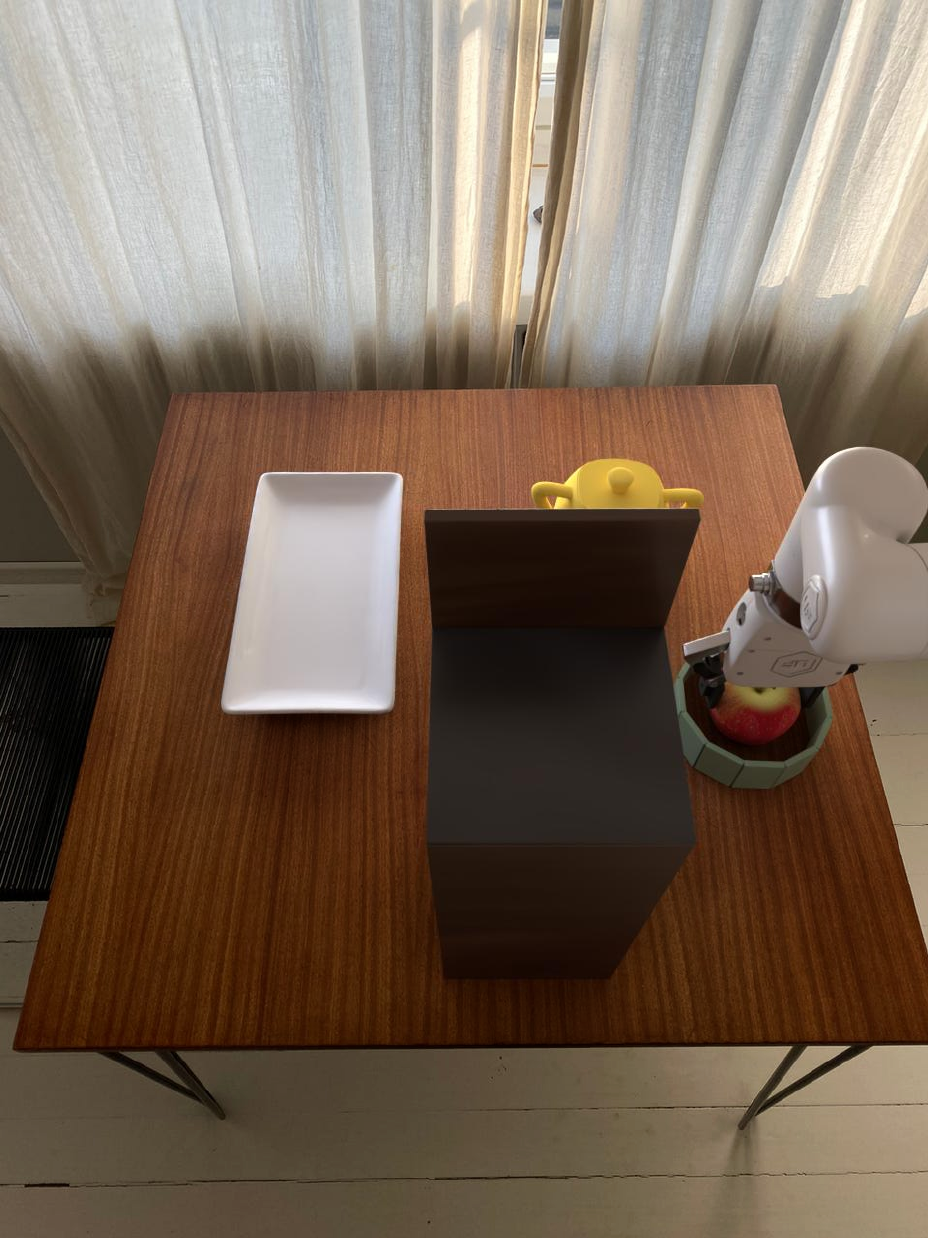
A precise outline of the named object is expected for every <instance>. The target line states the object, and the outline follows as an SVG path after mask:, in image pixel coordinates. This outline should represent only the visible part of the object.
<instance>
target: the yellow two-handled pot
mask: <svg viewBox="0 0 928 1238" xmlns="http://www.w3.org/2000/svg"><path fill="white" fill-rule="evenodd" d="M530 491H531V492H530V493H531V499H532V501H533V503H534V505H535V506H536V509H625V508H670V503H684V504H683V505H682V506H681V507H680V508H699V510H700V509H701V508H702V506H703V505H704V502H705V497H704V496H705V495H704V493H702V492H701V491H700V490H698V489H694V488H666V489H665V487H664V484H663V482H662V480H661V477H660V476H659V475H658V473H657V471H656V470H655V469H654V468H653V467H652V466H650V465H648V464H646V463H643V462H641V461H637V460H633V459H627V458H626V459H625V458H602V459H596V460H591V461H588V462H587V463H584V464H583V465H581V467H579V468H577V469H576V470H575V472H573V473H572V475H570V476H569V477H568V478H567V480H566V481H565V482H564V483H560V482H559V483H558V482H551V481H539V482H536V483H534V484H533V486H532V487H531V490H530ZM548 497H556V499H555V504H554V507H553V506H552V505H551V503H550V501H549V498H548Z"/></svg>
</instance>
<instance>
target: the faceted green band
mask: <svg viewBox="0 0 928 1238" xmlns="http://www.w3.org/2000/svg"><path fill="white" fill-rule="evenodd" d="M720 663H721V665H723V664H724V660H723V661H721V662H720ZM694 675H697V674H696V673H695V672H694V670H693V667H692V666H690V665H689V664H688V663H687V662H686V661H685V662H684V664H683V665H682V667H681V669H680V671H679V672H678V674H677V675H676V678H675V681H674V682H673V686H674V692H675V699H676V706H677V712H678V719H679V726H680V732H681V739H682V746H683V752H684V758H685V759H686V760H687V761H688V763H689V764H690V765H691V767H693V768H694V769H695V770H697V771H698V772H701V773H702V774H703V775H706V776H708V777H710V778H711V779H713V780H715V781H717V782H719V783H720V784H722V785H724V786H726V787H730V788H732V789H733V788H734V789H736V788H737V789H755V790H757V789H759V790H770V789H774V788H775V787H777V786H779V785H781V784H783V783H785V782H787V781H789V780H791V779H792V778H794V777H796V776H798V775H800V774H802V772H803V771H804V770H805V769H806V768H807V767H808V765H809V764H810V762H811V761H812V760H813V758H814V757H815V756H816V755H817V753H818V752H819V751H820V749H821V748H822V745H823V743H824V741H825V739H826V737H827V736H828V735H827V734H828V732H829V730H830V728H831V726H832V723H833V721H834V714H833V708H832V704H831V699H830V694H829V690H828V687H825V688H824V690H823V691H822V693H821V694H820V696H819V697H818V698H817V699H816V701H815V702H814V704H813V705H812V707H811V708H810V709H804V708H803V709H804V715H805V720H806V725H807V731H808V736H809V742H807V745H806V747H805V750H803V751H801V752H799V753H797V754H795V755H793V756H791V757H790V758H788V759H786V760H784V761H769V760H745V759H743V758H741V757H739V756H737V755H736V754H733V753H731V752H730V751H727V750H726V749H724V748H722V747H720V746H718V745H716V744H714V743H713V742H710V741H709V739H707V737H706V735H704V733H703V732H702V730H701V729H700V728H699V726H698V725H697V723H696V722H695V721H694V720H693V718H692V717H691V716H690V714H689V712H687V705H686V703H687V702H686V696H685V695H686V694H685V686H684V685H685V684H686V681H687V680H688V678H691V677H692V676H694Z"/></svg>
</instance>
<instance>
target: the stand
mask: <svg viewBox="0 0 928 1238" xmlns="http://www.w3.org/2000/svg"><path fill="white" fill-rule="evenodd" d="M701 521H702V517H701V511H700V509H699V508H681V507H669V508H625V509H554V508H553V509H538V508H443V509H442V508H441V509H440V508H439V509H437V508H435V509H434V508H432V509H431V508H429V509H428V508H427V509H426V508H425V509H424V512H423V526H424V538H425V539H424V541H425V553H426V554H425V555H426V556H425V557H426V567H427V569H426V570H427V579H428V580H427V582H428V594H429V597H428V598H429V610H430V623H431V626H430V627H431V641H430V643H431V644H430V675H429V677H430V678H429V679H430V680H429V714H428V752H427V753H428V754H427V756H428V757H427V789H426V790H427V791H426V793H427V794H426V829H425V833H426V834H425V839H426V840H425V844H426V852H427V858H428V867H429V873H430V881H431V883H430V884H431V888H432V889H431V890H432V897H433V904H434V912H435V913H434V914H435V920H436V927H437V929H436V930H437V937H438V945H439V951H440V959H441V965H442V966H441V967H442V975H443V979H444V980H610V979H611V978H612V976H613V975H614V974H615V972H616V970H617V969H618V967H619V966H620V964H621V963H622V961H623V959H624V958H625V956H626V954H627V953H628V951H629V950H630V948H631V946H632V945H633V943H634V942H635V940H636V939H637V938H638V935H639V934H640V932H641V930H642V929H643V927H644V926H645V924H646V923H647V921H648V919H649V918H650V916H651V915H652V914H653V912H654V910H655V908H657V905H658V903H659V902H660V901H661V899H662V897H663V896H664V894H665V893H666V891H667V890H668V889H669V887H670V885H671V884H672V882H673V880H674V878H675V877H676V876H677V874H678V872H679V871H680V869H681V868H682V866H683V865H684V862H685V861H686V860H687V858H688V857H689V855H690V854H691V851H692V850H693V849H694V847H695V845H697V843H698V839H697V833H696V827H695V826H696V825H695V819H694V814H693V805H692V801H691V799H692V798H691V793H690V787H689V786H690V785H689V779H688V773H687V767H686V758H685V756H684V752H683V746H682V739H681V732H680V726H679V719H678V712H677V706H676V699H675V692H674V679H673V673H672V667H671V659H670V654H669V653H670V651H669V646H668V640H667V634H666V625H667V621H668V618H669V615H670V613H671V609H672V607H673V604H674V601H675V598H676V595H677V592H678V589H679V586H680V582H681V580H682V577H683V574H684V571H685V568H686V565H687V562H688V559H689V556H690V554H691V551H692V548H693V544H694V542H695V539H696V536H697V534H698V530H699V528H700V524H701Z"/></svg>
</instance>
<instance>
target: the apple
mask: <svg viewBox="0 0 928 1238" xmlns="http://www.w3.org/2000/svg"><path fill="white" fill-rule="evenodd" d="M722 670H723V667H722ZM724 684H725V691H724V693H723V695H722V697H721V699H720V701H719V703H718V705H717V707H715V708H714V709H708V712H709V715H710V718H711V720H712V722H713V724H714V726H715V728H716V729H717V731H719V732H720V733H721V734H722V735H724V736H725V737H726V738H727V739H730V740H732V741H734V742H737V743H739V744H743V745H748V746H761V745H765V744H768V743H771V742H772V741H775V740H776V739H778V738H779V737H781V736H783V735H784V734H785V733H786V732H787V731H789V729H790V728H791V727H792V726H793V725H794V723H795V722H796V721H797V719H798V717H799V715H800V711H801V708H802V707H801V697H800V692H799V688H798V687H742V686H736V685H733V684H731V683H729V682H725V683H724Z"/></svg>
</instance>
